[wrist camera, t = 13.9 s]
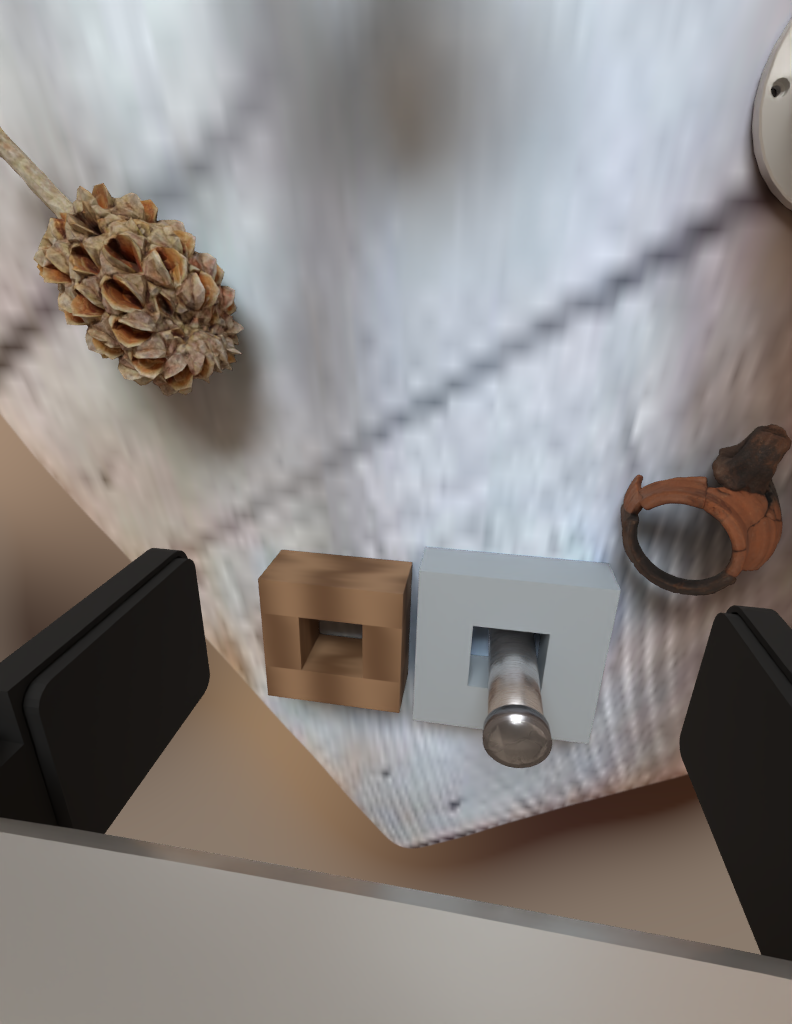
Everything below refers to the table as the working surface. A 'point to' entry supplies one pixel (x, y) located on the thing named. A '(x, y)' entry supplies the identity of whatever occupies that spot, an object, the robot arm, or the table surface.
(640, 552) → the cracked clay ring
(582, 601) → the socket block
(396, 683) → the mount block
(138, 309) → the pine cone
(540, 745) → the lock pin
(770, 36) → the table surface
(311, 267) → the table surface
